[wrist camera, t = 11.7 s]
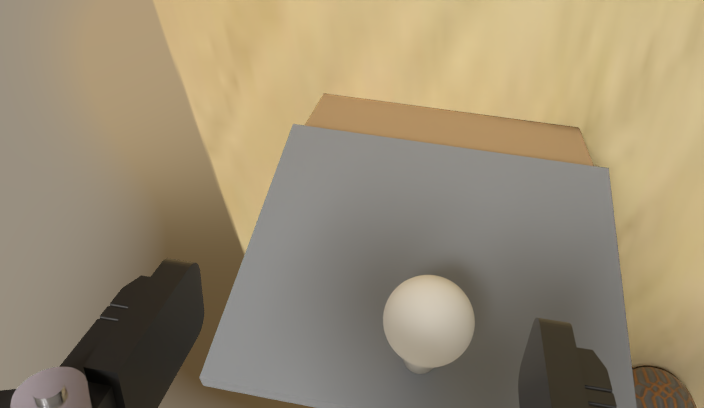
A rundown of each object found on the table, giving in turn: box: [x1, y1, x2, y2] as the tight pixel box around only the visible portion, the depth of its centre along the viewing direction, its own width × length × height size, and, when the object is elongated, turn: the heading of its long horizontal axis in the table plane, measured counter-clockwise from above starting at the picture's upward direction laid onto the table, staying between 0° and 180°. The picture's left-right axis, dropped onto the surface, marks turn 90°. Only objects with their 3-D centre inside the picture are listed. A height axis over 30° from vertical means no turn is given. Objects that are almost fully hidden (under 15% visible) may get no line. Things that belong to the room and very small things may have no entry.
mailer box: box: [304, 94, 593, 166], centre depth 46 cm, size 20×16×8 cm
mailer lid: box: [200, 124, 637, 408], centre depth 30 cm, size 21×18×7 cm
